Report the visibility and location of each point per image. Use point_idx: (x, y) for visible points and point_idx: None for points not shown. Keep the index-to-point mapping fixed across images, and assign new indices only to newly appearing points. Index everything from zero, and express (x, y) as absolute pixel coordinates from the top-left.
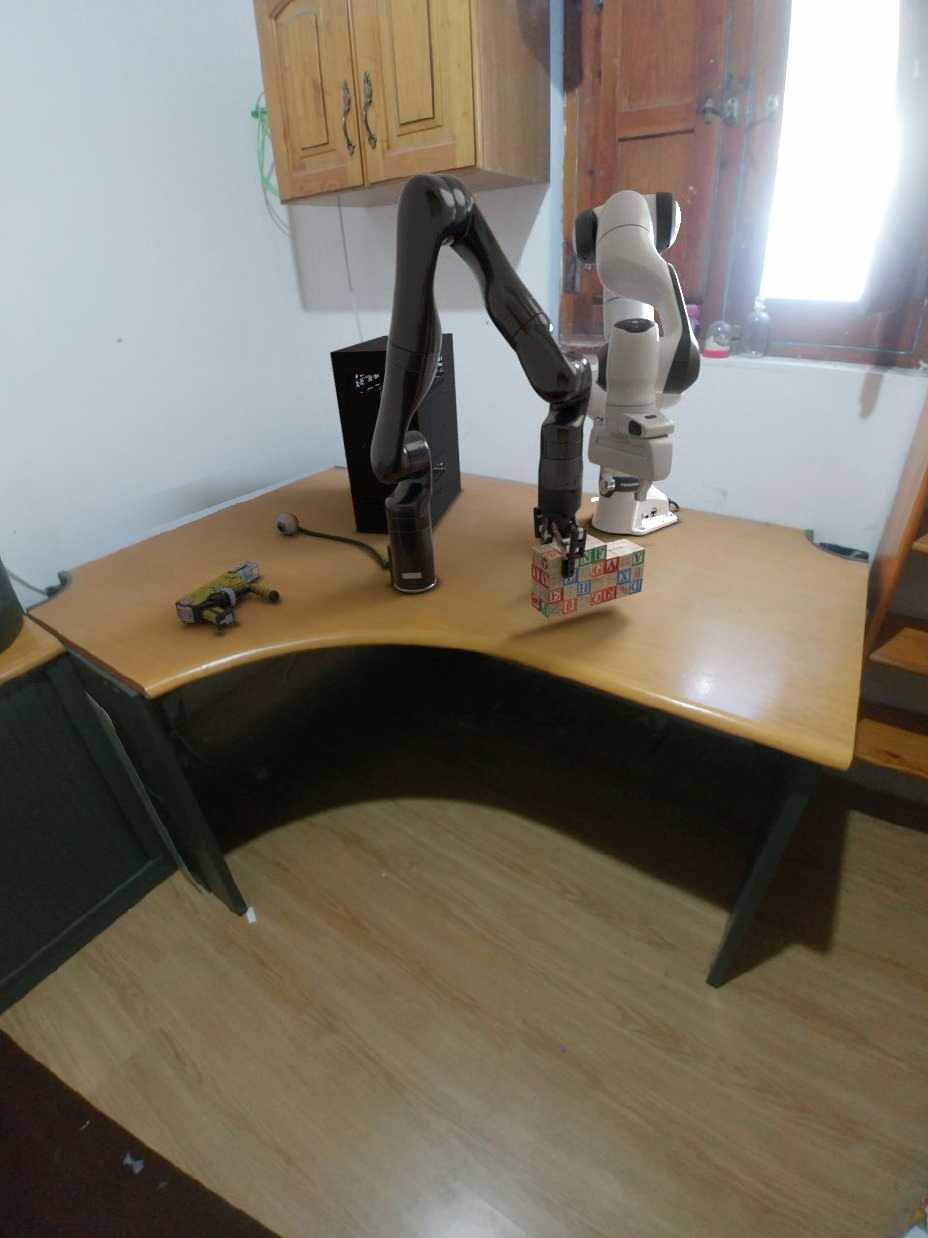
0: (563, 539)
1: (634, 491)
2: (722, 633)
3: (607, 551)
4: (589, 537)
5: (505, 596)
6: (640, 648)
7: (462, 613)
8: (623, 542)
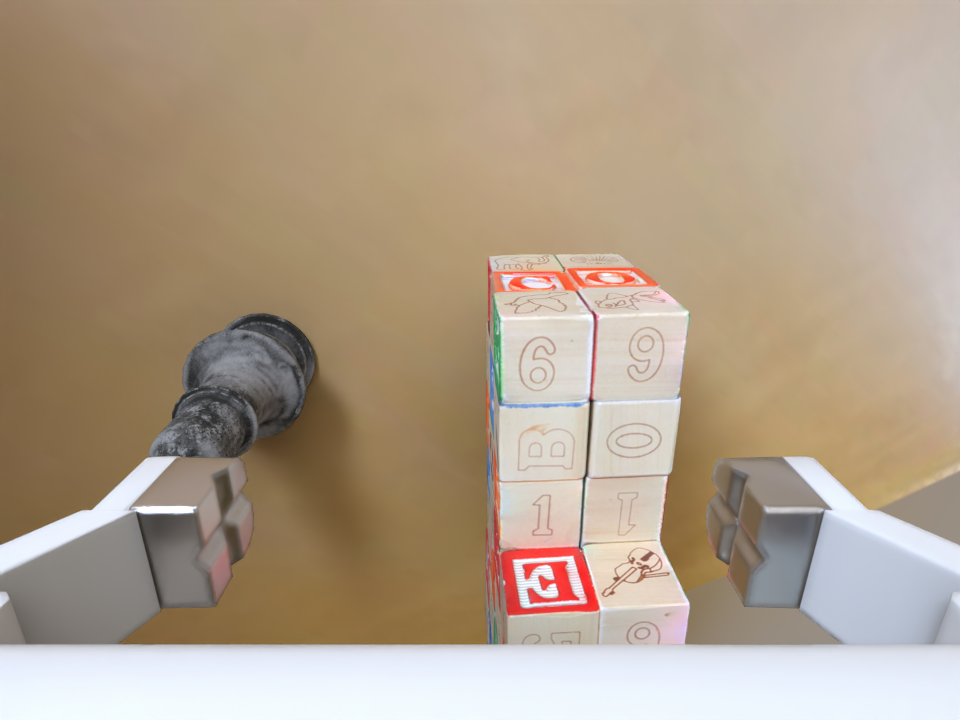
0: None
1: (748, 604)
2: (906, 84)
3: (588, 490)
4: (559, 630)
5: (293, 562)
6: (779, 387)
7: None
8: (544, 360)
